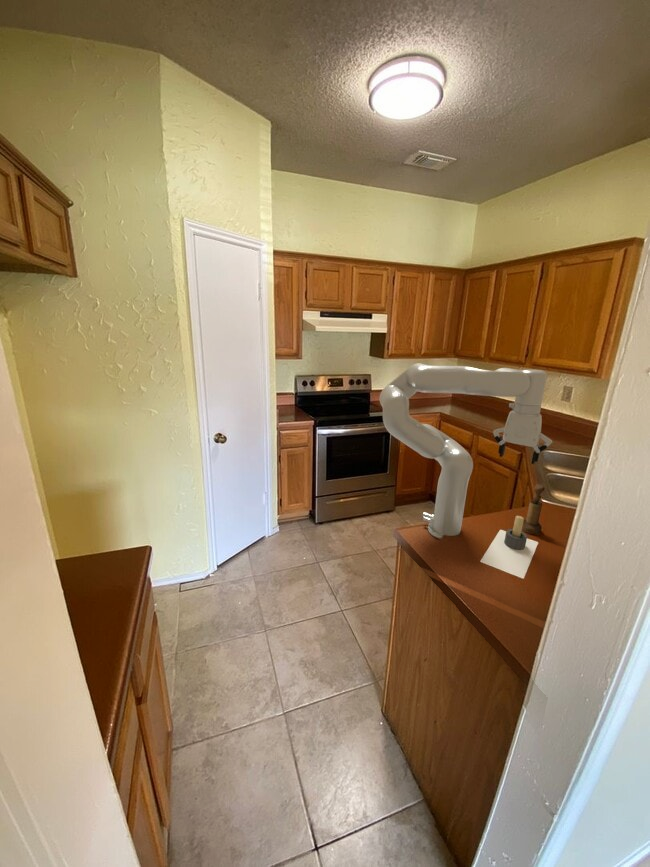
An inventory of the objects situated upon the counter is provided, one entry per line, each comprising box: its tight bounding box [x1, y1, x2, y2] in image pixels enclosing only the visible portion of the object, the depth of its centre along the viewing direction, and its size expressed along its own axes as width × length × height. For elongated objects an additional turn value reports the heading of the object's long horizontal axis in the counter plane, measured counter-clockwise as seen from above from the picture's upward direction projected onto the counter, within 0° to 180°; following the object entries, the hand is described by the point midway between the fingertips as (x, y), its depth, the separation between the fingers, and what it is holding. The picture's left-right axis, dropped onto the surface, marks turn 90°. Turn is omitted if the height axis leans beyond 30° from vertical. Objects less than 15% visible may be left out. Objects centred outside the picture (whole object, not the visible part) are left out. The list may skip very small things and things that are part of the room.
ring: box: [504, 528, 528, 550], centre depth 119 cm, size 6×6×4 cm
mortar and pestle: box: [521, 483, 545, 536], centre depth 129 cm, size 7×6×18 cm
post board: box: [480, 515, 539, 579], centre depth 114 cm, size 12×24×12 cm, turn 141°
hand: (517, 459), depth 120 cm, fingers open, 9 cm apart
